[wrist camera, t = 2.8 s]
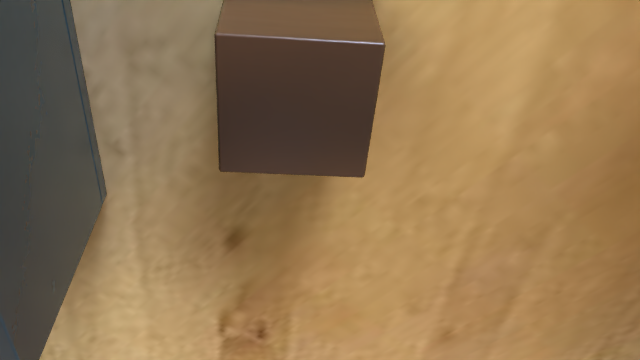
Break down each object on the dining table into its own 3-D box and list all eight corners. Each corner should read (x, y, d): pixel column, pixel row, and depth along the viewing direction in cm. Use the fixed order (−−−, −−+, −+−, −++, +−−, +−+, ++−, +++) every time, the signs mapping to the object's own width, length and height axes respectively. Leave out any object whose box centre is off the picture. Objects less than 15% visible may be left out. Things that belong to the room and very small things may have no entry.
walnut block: (229, -25, 20) (213, 33, 16) (368, -15, 21) (386, 43, 17) (231, 99, 23) (218, 172, 19) (352, 105, 24) (364, 178, 20)
